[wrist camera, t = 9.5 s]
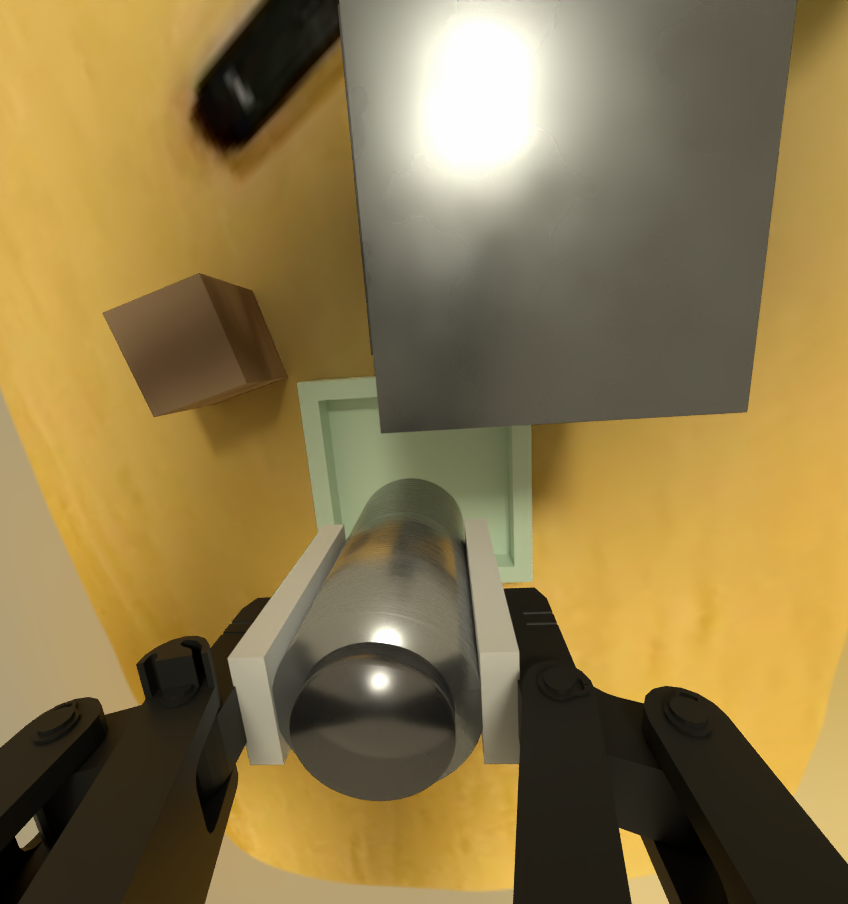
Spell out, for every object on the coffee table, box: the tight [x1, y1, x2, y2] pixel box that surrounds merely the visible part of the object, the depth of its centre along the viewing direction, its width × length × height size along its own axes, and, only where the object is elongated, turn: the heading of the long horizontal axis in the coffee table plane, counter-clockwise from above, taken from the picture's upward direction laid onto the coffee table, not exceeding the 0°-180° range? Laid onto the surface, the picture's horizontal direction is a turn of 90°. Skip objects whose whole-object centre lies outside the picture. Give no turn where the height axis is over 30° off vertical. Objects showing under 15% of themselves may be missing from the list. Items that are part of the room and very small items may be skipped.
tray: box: [297, 375, 533, 583], centre depth 23 cm, size 12×12×2 cm
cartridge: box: [272, 478, 483, 801], centre depth 12 cm, size 4×4×10 cm
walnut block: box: [103, 273, 288, 417], centre depth 21 cm, size 5×5×5 cm
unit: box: [337, 0, 797, 434], centre depth 15 cm, size 12×10×13 cm
